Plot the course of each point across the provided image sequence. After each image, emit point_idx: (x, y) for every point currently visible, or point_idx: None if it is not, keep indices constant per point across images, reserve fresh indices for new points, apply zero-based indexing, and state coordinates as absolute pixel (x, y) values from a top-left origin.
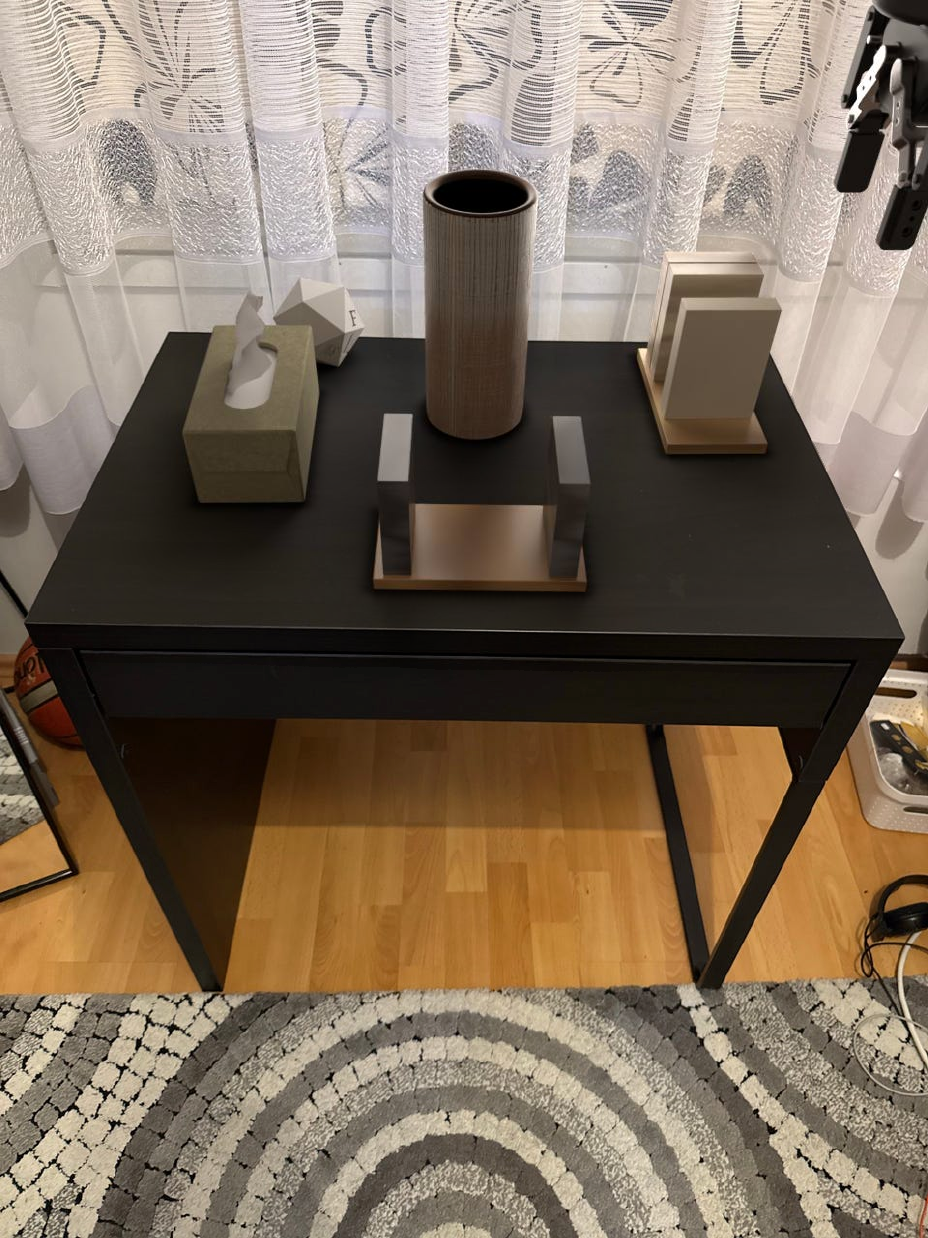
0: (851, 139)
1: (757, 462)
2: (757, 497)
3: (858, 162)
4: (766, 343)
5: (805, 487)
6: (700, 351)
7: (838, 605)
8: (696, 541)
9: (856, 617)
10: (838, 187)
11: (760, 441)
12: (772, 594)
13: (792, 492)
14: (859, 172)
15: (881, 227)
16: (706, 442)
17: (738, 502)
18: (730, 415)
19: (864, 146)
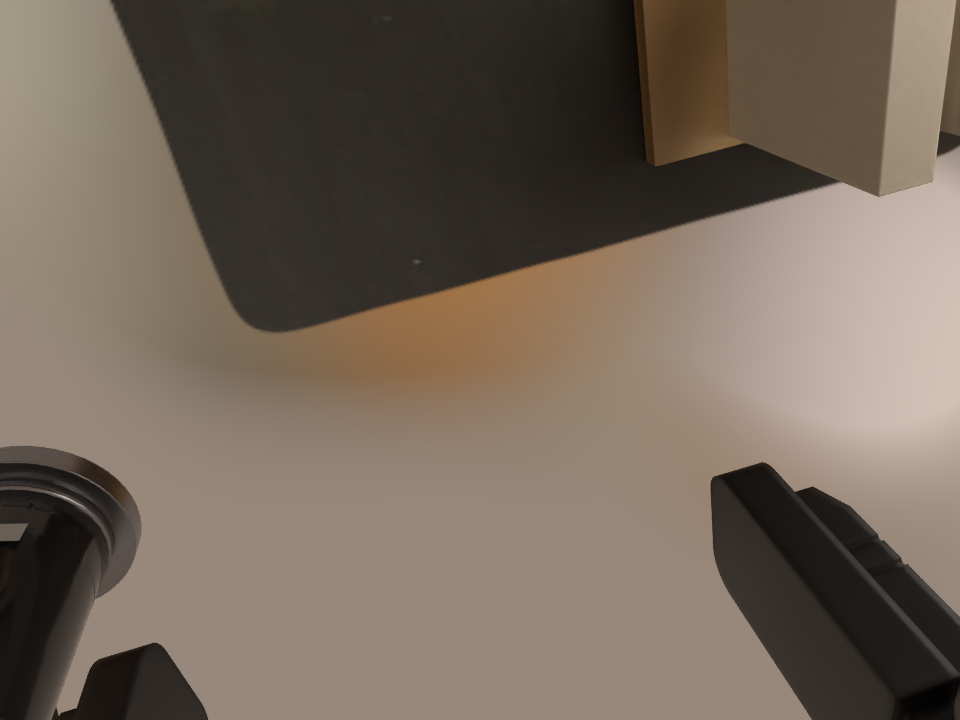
0: (869, 675)
1: (620, 148)
2: (522, 148)
3: (785, 621)
4: (825, 162)
5: (561, 229)
6: (820, 5)
7: (279, 274)
8: (374, 32)
9: (261, 298)
10: (722, 485)
11: (660, 153)
12: (271, 173)
13: (544, 208)
14: (759, 596)
15: (105, 717)
16: (650, 46)
17: (502, 113)
18: (731, 95)
19: (839, 696)
